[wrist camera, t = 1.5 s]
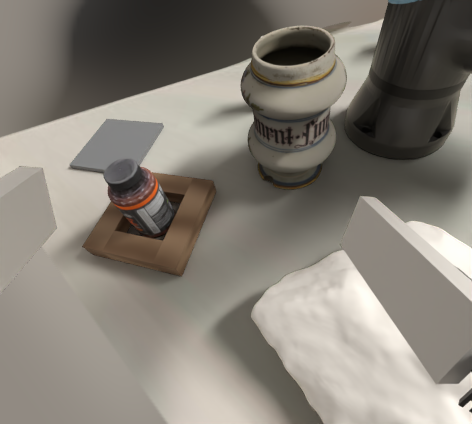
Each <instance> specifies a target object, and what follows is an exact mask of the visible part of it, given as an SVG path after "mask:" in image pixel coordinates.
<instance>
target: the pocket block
mask: <svg viewBox="0 0 472 424" xmlns="http://www.w3.org/2000/svg"><path fill="white" fill-rule="evenodd" d="M152 173H153V172H152ZM153 175H154V176H155V178H156V179H157V181H158V183H159V185H160V186H161V188H162V190H163V191H164V193H165V195H166V197H167V198H168V200H169V201H170V202H176V203H181V204H180V206H179V209H178V211H177V213H176V215H175V217H174V219H173V221H172V223H171V225H170V227H169V230H168V232H167V234H166V236H165V238H164V240H163V241H162V240H157V239H152V238H148V237H143V236H138V235H133V234H129V233H127V231H128V230H129V228H130V226H131V223H130V222H129V220H128V219H127V218H126V217H125V216H124V215H123V214H122V213H121V212H120V210H119V209H118V208H117V207H116V206H115V205H114V204H113V202H112V201H111V203H110V204H109V206H108V207H107V209H106V211H105V212H104V214H103V215H102V217H101V218H100V220H99V221H98V223H97V225H96V226H95V228H94V229H93V231H92V232H91V234H90V235H89V237H88V239H87V240H86V242H85V243H84V245H83V246H82V247H83V248H85V249H86V250H87V251H89V252H90V253H92V254H93V255H97V256H101V257H105V258H109V259H113V260H117V261H121V262H125V263H129V264H133V265H137V266H142V267H146V268H150V269H154V270H158V271H162V272H166V273H170V274H174V275H178V276H182V275H183V272H184V270H185V267H186V265H187V262H188V260H189V258H190V255H191V253H192V250H193V248H194V245H195V243H196V240H197V238H198V235H199V233H200V230H201V228H202V225H203V223H204V220H205V218H206V215H207V213H208V210H209V208H210V205H211V203H212V201H213V198H214V196H215V193H216V189H215V186H214V183H213V181H212V180H205V179H197V178H190V177H182V176H175V175H168V174H160V173H153Z"/></svg>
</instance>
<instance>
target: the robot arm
mask: <svg viewBox="0 0 472 424" xmlns="http://www.w3.org/2000/svg"><path fill="white" fill-rule="evenodd" d="M470 73H472V0H388V6H387V10H386V13H385V17H384V21H383V24H382V28H381V32H380V35H379V39H378V43H377V46H376V50H375V53H374V57H373V60H372V64H371V68H370V72H369V75H368V77H367V78H366V80H365V82H364V83H363V85H362V86H361V88H360V89H359V91H358V92H357V94H356V95H355V97H354V99H353V100H352V102H351V103H350V105H349V107H348V110H347V113H346V117H345V122H344V126H345V131H346V133H347V135H348V136H349V138H350V139H351V140H352V141H353V142H354V143H355V144H356V145H357V146H359V147H360V148H362V149H364V150H366V151H368V152H370V153H372V154H375V155H378V156H382V157H387V158H394V159H412V158H418V157H423V156H426V155H428V154H431V153H433V152H435V151H436V150H438V149H439V148H440V147H441V146H442V145H443V144H444V143H445V141H446V139H447V138H448V136H449V135H450V133H451V132H452V129H453V127H454V123H455V118H456V112H457V107H458V101H459V96H460V91H461V88H462V87H463V85H464V83H465V82H466V80H467V78H468V76H469V75H470ZM56 229H57V226H56V222H55V218H54V214H53V209H52V205H51V201H50V197H49V192H48V188H47V184H46V180H45V176H44V171H43V168H38V167H26V166H19V167H18V168H16V169H15V170H13V171H11V172H10V173H8V174H6V175H5V176H3V177H2V178H0V294H1V293H2V292H3V291H4V290H5V289H6V287H7V286H8V285H9V284H10V283H11V281H12V280H13V279H14V278H15V277H16V275H17V274H18V273H19V272H20V271H21V270H22V269H23V267H24V266H25V265H26V264H27V263H28V261H29V260H30V259H31V258H32V257H33V256H34V254H35V253H36V252H37V251H38V250H39V249H40V247H41V246H42V245H43V244H44V243H45V241H46V240H47V239H48V238H49V237H50V236H51V234H52V233H53V232H54V231H55V230H56ZM340 245H341V247H342V248H343V250H344V251H345V253H346V254H347V256H348V257H349V258H350V260H351V261H352V263H353V264H354V266H355V267H356V269H357V270H358V272H359V273H360V274H361V276H362V277H363V279H364V280H365V282H366V283H367V285H368V286H369V288H370V289H371V290H372V292H373V293H374V295H375V296H376V298H377V299H378V301H379V302H380V304H381V305H382V306H383V308H384V309H385V311H386V312H387V314H388V315H389V317H390V318H391V320H392V321H393V322H394V324H395V325H396V327H397V328H398V330H399V331H400V333H401V334H402V336H403V337H404V338H405V340H406V341H407V343H408V344H409V346H410V347H411V349H412V350H413V352H414V353H415V355H416V356H417V357H418V359H419V360H420V362H421V363H422V365H423V366H424V368H425V369H426V371H427V372H428V373H429V375H430V376H431V378H432V379H433V381H434V382H435V384H459V383H460V382H461V381H462V380H463V379H464V378H465V377H466V376H467V375H468V374H469V373H470V372H472V279H471V278H469V277H468V276H467V275H466V274H465V273H464V272H462V271H461V270H460V269H459V268H457V267H455V266H454V265H453V264H452V263H451V262H449V261H448V260H447V259H446V258H445V257H444V256H442V255H441V254H440V253H439V252H438V251H437V250H436V249H434V248H433V247H432V246H431V245H430V244H429V243H427V242H426V241H425V240H424V239H423V238H422V237H421V236H419V235H418V234H417V233H416V232H415V231H414V230H413V229H411V228H410V227H409V226H408V225H407V224H406V223H404V222H403V221H402V220H401V219H400V218H399V217H398V216H396V215H395V214H394V213H393V212H392V211H391V210H389V209H388V208H387V207H386V206H385V205H384V204H383V203H381V202H380V201H379V200H378V199H377V198H376V197H366V196H360V197H359V200H358V202H357V205H356V207H355V209H354V212H353V214H352V217H351V219H350V221H349V224H348V226H347V229H346V231H345V233H344V236H343V238H342V241H341V243H340ZM470 401H472V388H471V389H470V390H469V391H468V392H467V393H466V394H465V395H464V396H463V397H461V398H460V399H459V404H458V405H459V406H461V407H462V408H463V407H464V406H465V405H466V404H467V403H468V402H470ZM469 412H471V413H472V408H471V409H470V410H469Z"/></svg>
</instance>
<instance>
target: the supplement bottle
mask: <svg viewBox="0 0 472 424" xmlns="http://www.w3.org/2000/svg"><path fill="white" fill-rule="evenodd" d="M104 179H105V181H106V182H107V183H108V185H109V186H108V196H109V198H110V200H111V201H112V202H113V204H114V205H115V206H116V207H117V208H118V209H119V210H120V212H121V213H122V214H123V215H124V216H125V217H126V218H127V219H128V220H129V222H130V223H131V224H132V225H133V226H134V227H135V229H136V230H137V231H138V232H139V233H140V234H142V235H144V236H146V237H151V238H153V237H158V236H161V235H163V234H165V233H166V232H168V230H169V227H170V225H171V223H172V221H173V219H174V217H175V211H174V209H173V207H172V205H171V203H170V202H169V200H168V198H167V197H166V195H165V193H164V191H163V190H162V188H161V186H160V185H159V183H158V181H157V179H156V178H155V176H154V175H153V173H152V172H151V171H150V170H148V169H146V168H144V167H140V166H139V165H138V164H137V162H136V161H135V160H134V159H132V158H121V159H117V160H115V161H114V162H112V163H111V164H110V165H108V167H107V168H106V169H105V171H104Z"/></svg>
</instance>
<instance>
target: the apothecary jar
mask: <svg viewBox="0 0 472 424" xmlns="http://www.w3.org/2000/svg"><path fill="white" fill-rule="evenodd" d="M346 81H347V75H346V69H345V66H344V64H343V62H342V61H341V60H340V58H339V57H338V56H337V55H336V54H335V39H334V37H333V36H332V35H331V34H330V33H329V32H327V31H326V30H324V29H321V28H318V27H312V26H294V27H287V28H283V29H279V30H276V31H273V32H271V33H268V34H267V35H265V36H263V37H262V38H261V39H260V40H258V41H257V42H256V44H255V45H254V48H253V51H252V60H251V62H250V64H249V65H248V66H247V68H246V69H245V71H244V73H243V76H242V79H241V92H242V96H243V98H244V100H245V102H246V103H247V104H248V105H249V106H250V107H251V108H252V109H253V114H254V122H253V124H252V125H251V127H250V130H249V133H248V146H249V149H250V152H251V154H252V155H253V157H254V158H255V159H256V160H257V161H258V171H259V174H260V176H261V177H262V178H263V180H266V181H270V182H272V184H273V186H274V187H277V188H281V189H298V188H302V187H305V186H307V185H309V184H311V183H312V182H313V181H315V180H316V178H317V177H318V176H319V174H320V172H321V169H322V162H323V161H324V160H325V159H326V158H327V157H328V156H329V155H330V153H331V152H332V150H333V148H334V146H335V142H336V131H335V127H334V125H333V123H332V121H331V120H330V119H329V115H330V107H331V106H332V105H333V104H334V103H335V102H336V101H337V100H338V99H339V98H340V96H341V95H342V93H343V91H344V89H345V86H346Z"/></svg>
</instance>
